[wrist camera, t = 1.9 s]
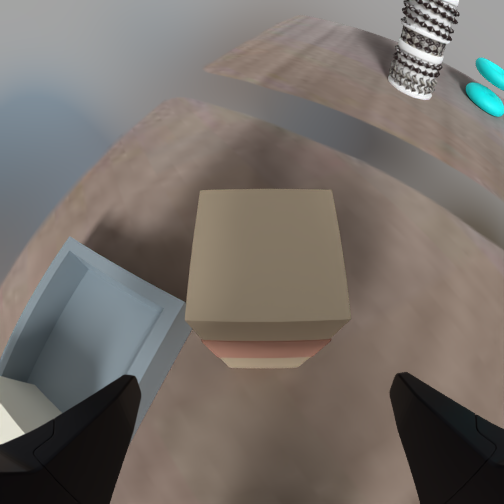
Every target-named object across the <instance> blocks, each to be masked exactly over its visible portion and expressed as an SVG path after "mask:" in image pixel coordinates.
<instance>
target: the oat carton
mask: <svg viewBox="0 0 504 504" xmlns="http://www.w3.org/2000/svg"><path fill="white" fill-rule="evenodd" d="M350 320H351V314H350V304H349V296H348V287H347V279H346V272H345V265H344V258H343V251H342V245H341V238H340V232H339V226H338V221H337V215H336V210H335V204H334V199H333V194H332V190H320V189H224V190H200V195H199V202H198V209H197V216H196V223H195V230H194V238H193V246H192V254H191V262H190V271H189V280H188V290H187V300H186V311H185V321H186V322H187V323H188V325H189V326H190V327H191V328H192V329H193V330H194V331H195V332H196V333H197V334H198V335H199V336H200V338H201V341H202V342H203V343H204V344H205V345H206V346H207V347H208V348H209V349H210V350H211V351H212V352H213V353H214V354H215V355H216V356H217V357H220V358H221V359H222V360H223V361H224V362H225V363H226V364H227V366H228V367H229V368H298V367H299V366H300V365H301V364H303V363H304V362H305V361H306V360H307V359H308V358H309V357H313V356H314V355H315V354H316V353H317V352H318V351H320V350H321V349H322V348H323V347H324V346H325V345H327V344H328V343H329V342H330V341H331V338H332V337H333V336H334V335H335V334H336V333H337V332H338V331H339V330H340V329H341V328H342V327H343V326H344V325H345V324H347V323H348V322H349V321H350Z"/></svg>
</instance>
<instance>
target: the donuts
mask: <svg viewBox="0 0 504 504" xmlns="http://www.w3.org/2000/svg"><path fill="white" fill-rule="evenodd" d="M476 67H477V69H478V71H479V72H480V74H481V75H482V76H483V77H484V78H486V79H487V80H488V81H489V82H491V83H492V84H493V85H494V86H496V87H498V88H500V89H501V90H503V91H504V70H503V69H502V68H500V67H499V66H498V65H496V64H494V63H493V62H491V61H489V60H487V59H485V58H478V59H477V60H476ZM466 93H467V95H468V96H469V98H470V99H471V100H472V101H473V102H474V103H475V104H476V105H477V106H478V107H480V108H481V109H482V110H484V111H485V112H487V113H489V114H491V115H493V116H496V117H500V116H502V115H503V114H504V105H503V103H502V101H501V100H500V99H499V97H498V96H497V95H496V94H495V93H494V92H492V91H491V90H490V89H488V88H487V87H485V86H483V85H481V84H479V83H475V82H471V83H469V84H467V86H466Z"/></svg>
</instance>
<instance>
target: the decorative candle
mask: <svg viewBox="0 0 504 504" xmlns="http://www.w3.org/2000/svg"><path fill="white" fill-rule="evenodd" d="M458 3H459V0H404V4H405V6H406V7H405V8H402V10H403V13H404V14H405V15H406V17H404V18H402V19H401V20H402V21H401V22H402V24H403V30H402V34H401V37H400V38H399V42H398V45H396V46H395V48H396V51H397V52H396V53H394V54H393V55H394V58H395V60H393V61H392V62H391V67H392V68H390V69H389V72H390V75H389V76H388V81H389V82H390V84H391V85H392V86H394V87H395V88H396V89H398V90H399V91H401V92H403V93H405V94H406V95H409V96H412V97H414V98H417V99H422V100H428V99H430V98H431V96H432V95H431V93H433V91H434V90H435V89H434V86H435V84H437V81H436V78H435V77H438V76H439V75H440V73H439V71H438V70H441V69H442V65H441V63H442V60H443V57H444V56H443V52H444V50H445V45H446V44H449V43H450V41H451V40H452V39H451V37H450V36H449V35H448V34H449V33H454V31H453V29H452V28H450V27H451V23H453V24H457V23H458V22H457V20H456V19H455V18H453V16H459V12H458V11H457V10H455V7H456V6H458Z"/></svg>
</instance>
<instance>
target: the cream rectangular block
mask: <svg viewBox="0 0 504 504" xmlns="http://www.w3.org/2000/svg"><path fill="white" fill-rule="evenodd" d="M60 414H62V412H61V411H60V410H59V409H58V408H57V407H56V406H55V405H54V404H53V403H52V402H51V401H50V400H49V399H48V398H47V397H46V396H45V395H44V394H43V393H42V392H41V391H40V390H39V389H38V388H37V386H36V385H34V384H30V383H25V382H21V381H17V380H13V379H10V378H6V377H2V376H0V444H3V443H6V442H8V441H10V440H12V439H15V438H17V437H19V436H21V435H24V434H26V433H28V432H30V431H32V430H34V429H36V428H38V427H40V426H41V425H43V424H45V423H47V422H48V421H50V420H52V419H55V417H57V416H58V415H60Z"/></svg>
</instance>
